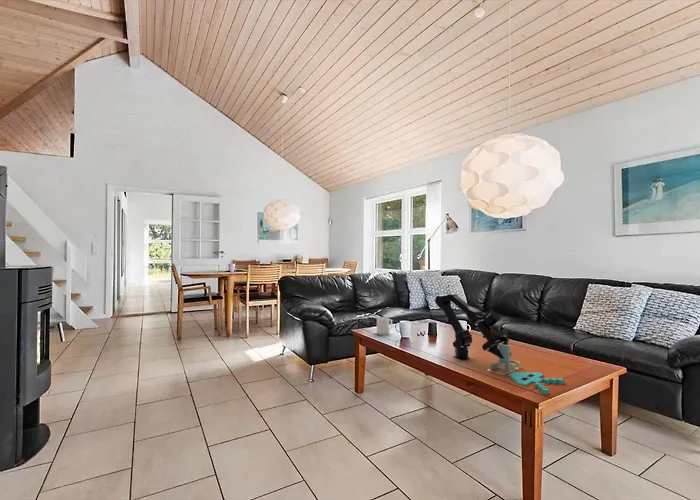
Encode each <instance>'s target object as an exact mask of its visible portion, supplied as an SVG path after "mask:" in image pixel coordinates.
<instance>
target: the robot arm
mask: <svg viewBox="0 0 700 500" xmlns="http://www.w3.org/2000/svg"><path fill="white" fill-rule="evenodd" d="M434 302H435V304H436V306H437V307H438V308H440V309H441V310H442V311H443V313H444V314H445V316H446V318H447V320H448V322H449V323H450V325H451V327H452V329H453V331H454V335H455V336H454V337H455V340H454V341H453V342H452V346H453V348H455V355H453V358H456V359H459V360H467V359H470V356H469V350H468V349H469V347H471V344H472V342H473V337H472V336H473V335H472V334H471V332H470V330H469V329H465V328H463V326H462V324H461V322H460V320H459V318H458V317H457V315H456V313H455V312H454V310H453V308H452V303H453V304H454V305H455V306H456V307H457V308H458V309H460V310H461V311H463V313H464V314H465V315H466V317H467V319H468V320H469V321H470V322H471V323H475V324H473V325H474V326H473V329H474V330H479V332H480V333H481V335H482V339H485V340H486V341H485V343H483V344H482V346H481V347H482V350H483V351H484V352H485V351H487V352H489V353H491V354H492V355H495V357H498V358H499V357H500V358H501V359H503V358H504V357H503V355H502V354H501V352H500V350H499V344H504V345H508V346H509V341H510V340H511V338H510V337H509V336H508V335H509V334H508V332H509V330H508V329H507V328H506V327H505V326H504V327H503V326H502V327H500V328H499V330H496V329H493V327H494V326H495V325H496V324H497V323H498V322H499V321H501V316H500V315H499V313H497V312H496V311H494V310H493V309H490V310H488V311H487V313H484V312H483V311H482V310H480V309H478V308H476V307H473V306H471V305H470V304H469V303H467V302H466V301H464V299H462V298H461V297H460V296H458V294H457V293H449V294H442V295H441V294H440V295H437V296H435V299H434ZM511 356H512V352H511V351H510V357H511Z"/></svg>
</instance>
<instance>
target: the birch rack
mask: <svg viewBox="0 0 700 500" xmlns="http://www.w3.org/2000/svg"><path fill="white" fill-rule="evenodd" d="M497 361H498V362H499V360H497ZM506 367H507V368H508V372H506V373H504V374H503V373H499V372H496V371H492V370H490V368H488V369H487V371H488V372H491V373H496V374H498V375H501V376H506V375H507V374H510V373H512V372H514V371H516V370H518V369H521V368H522V366H521V361H517V360H512V359H510V366H508V365H506Z"/></svg>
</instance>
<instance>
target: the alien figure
mask: <svg viewBox="0 0 700 500" xmlns="http://www.w3.org/2000/svg"><path fill="white" fill-rule="evenodd" d="M507 374H508V375H507V376H508V377H509V378H510V379H511V380H512V381H513V382H515V384H516V385H520V386H523V387H528V386H529V385H531V384H534V387H535V388H536V389H537V390H538V391H539V390H540V393H541V394H544V395H546V394H547V395H549V394H550V389H549V388H547V387H546V386H545V385H543V384H547V385H548V384H553V385H556V384H559V385H564V383H565V379H563V378H559V377H558V378H553V377H551V378H548V377H544V376H545V375H544V374H543V373H540V372H537V371H533V372H530V371H526V372H524V371H519V372H518V371H516V370H514V371H512V372H510V373H507ZM542 377H544V378H542Z"/></svg>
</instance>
